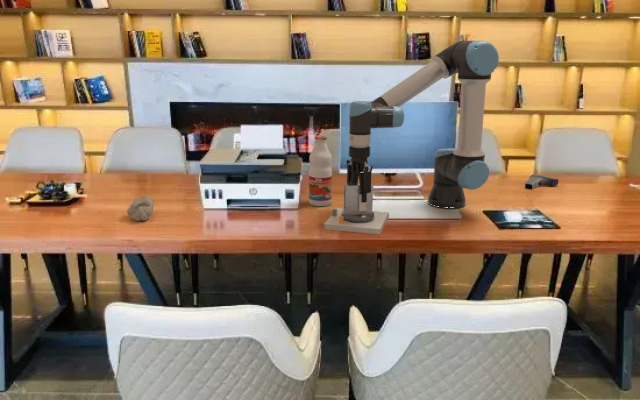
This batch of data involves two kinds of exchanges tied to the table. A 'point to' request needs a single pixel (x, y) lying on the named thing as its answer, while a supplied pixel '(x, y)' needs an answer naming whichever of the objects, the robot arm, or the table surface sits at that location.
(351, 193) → the dial knob
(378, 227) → the dial plate
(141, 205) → the fossil replica
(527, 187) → the infrared thermometer
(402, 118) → the robot arm
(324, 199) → the fruit juice
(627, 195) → the table surface
